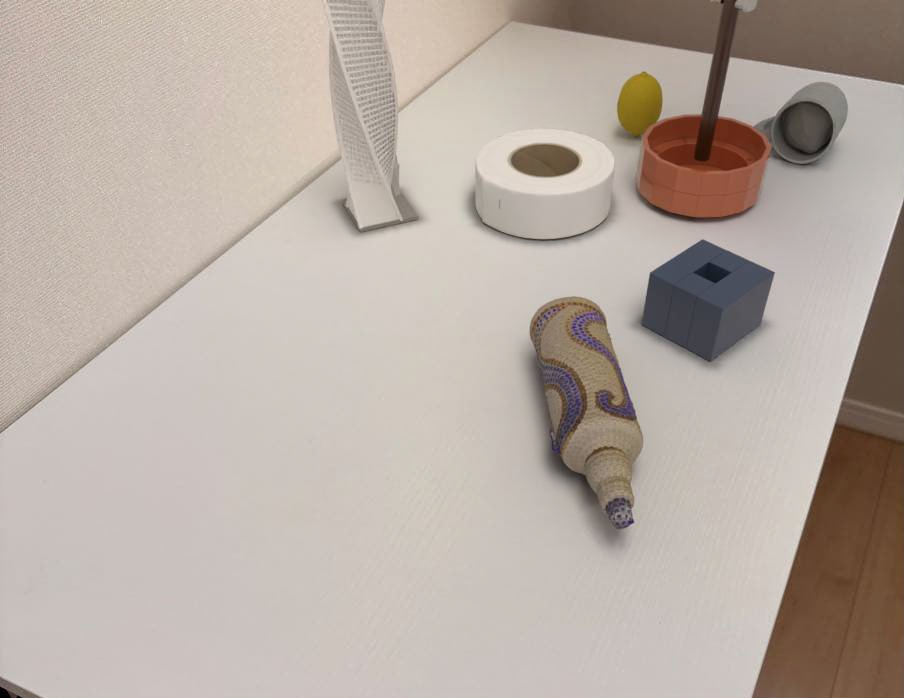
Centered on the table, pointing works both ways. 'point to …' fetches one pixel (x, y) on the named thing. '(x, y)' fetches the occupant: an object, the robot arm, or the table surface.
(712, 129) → the stick
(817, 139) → the ceramic mug
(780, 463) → the table surface
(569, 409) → the decorative bottle
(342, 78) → the skyscraper
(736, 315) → the stand
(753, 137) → the bowl
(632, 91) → the lemon
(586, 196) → the tape roll
